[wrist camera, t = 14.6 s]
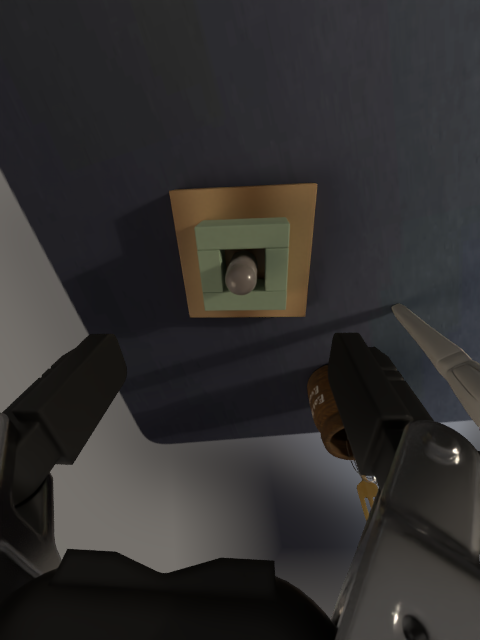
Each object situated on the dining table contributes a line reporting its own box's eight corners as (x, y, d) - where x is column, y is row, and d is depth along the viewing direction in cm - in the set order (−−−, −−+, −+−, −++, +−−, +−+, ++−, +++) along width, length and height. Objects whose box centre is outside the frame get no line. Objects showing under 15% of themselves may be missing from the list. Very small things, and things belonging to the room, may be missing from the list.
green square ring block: (210, 296, 21) (204, 311, 19) (201, 220, 18) (193, 226, 16) (283, 295, 21) (285, 310, 19) (286, 216, 18) (290, 223, 16)
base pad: (193, 309, 24) (173, 352, 18) (175, 189, 19) (138, 196, 13) (302, 308, 23) (316, 352, 17) (313, 182, 18) (337, 187, 12)
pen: (386, 325, 23) (525, 492, 11) (375, 303, 22) (512, 460, 10) (415, 311, 22) (599, 475, 10) (404, 288, 21) (593, 439, 9)
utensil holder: (361, 355, 25) (434, 484, 15) (365, 399, 28) (427, 533, 18) (301, 365, 26) (328, 492, 16) (310, 407, 29) (339, 537, 19)
